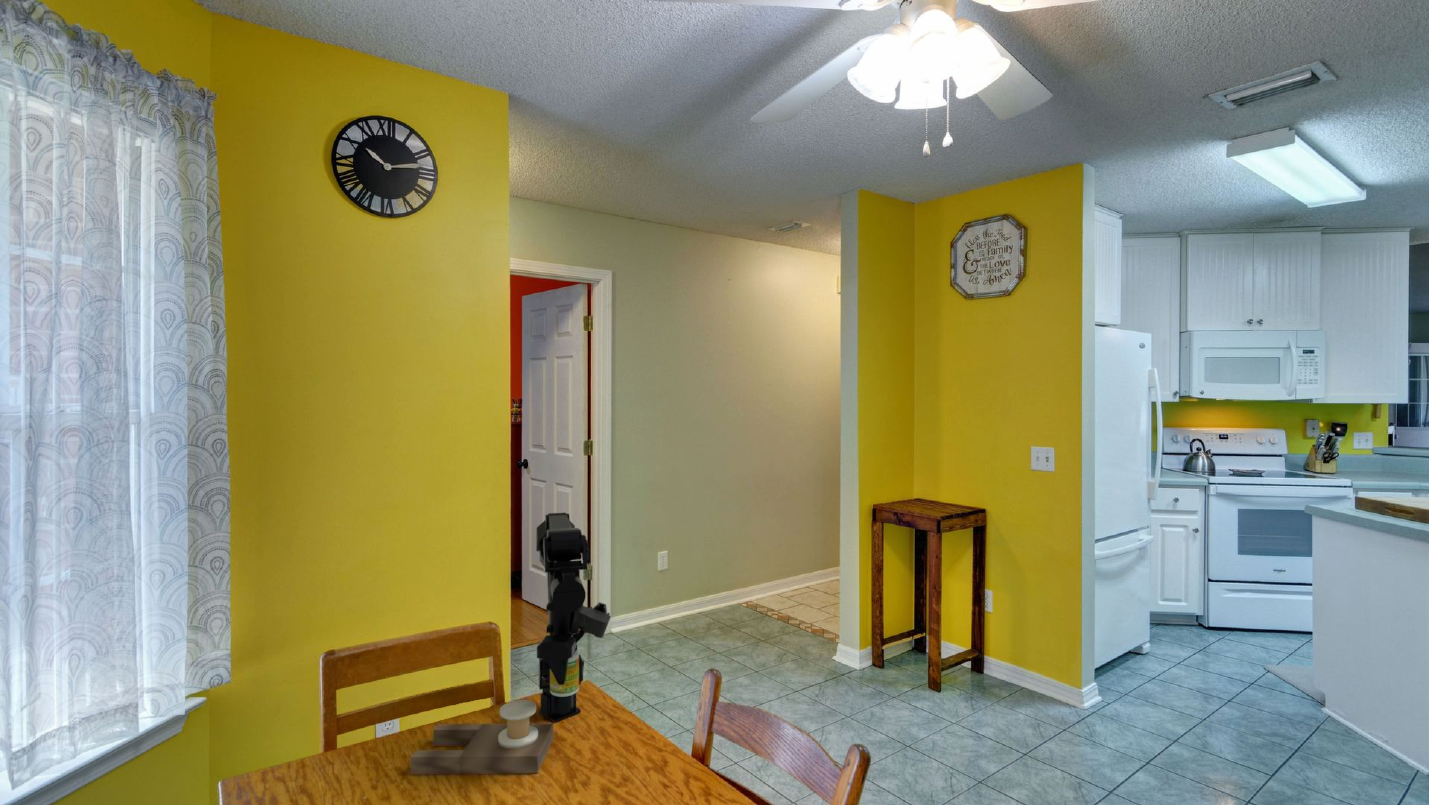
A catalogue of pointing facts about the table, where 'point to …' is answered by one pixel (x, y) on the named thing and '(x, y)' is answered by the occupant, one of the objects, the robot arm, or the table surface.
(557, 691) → the supplement bottle
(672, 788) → the table surface
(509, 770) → the notched board
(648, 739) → the table surface
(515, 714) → the bobbin
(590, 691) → the table surface
